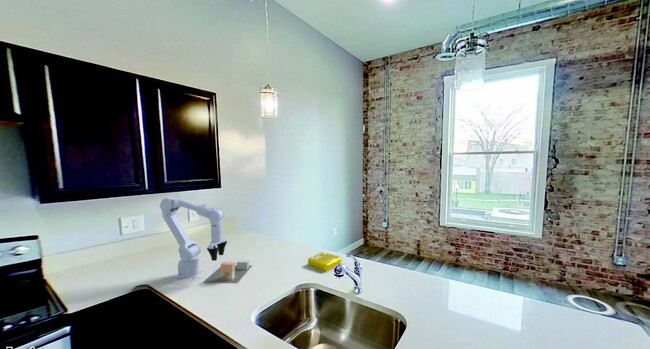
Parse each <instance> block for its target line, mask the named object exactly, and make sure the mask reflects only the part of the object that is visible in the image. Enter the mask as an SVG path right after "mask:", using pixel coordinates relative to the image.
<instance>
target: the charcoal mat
mask: <svg viewBox="0 0 650 349" xmlns="http://www.w3.org/2000/svg"><path fill="white" fill-rule="evenodd" d="M252 267H253V265H250V264H249V268H248V269H237V264H236V265H235V278H234V279H233V280H221V266H220V267H219V268H217V269H216V270H214V272H213V273H211V274H210V275H209V276H208V277H207V278H206V279H205V280H203V281H202V284H238V283H240V280H241V279H243V277H244V276H245V275H246V273H248V271H249V270H250V269H251V268H252Z"/></svg>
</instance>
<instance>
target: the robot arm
mask: <svg viewBox="0 0 650 349" xmlns="http://www.w3.org/2000/svg"><path fill="white" fill-rule="evenodd" d="M181 207H182V208H185V209H188V210H191V211H193V212H194V211H195V212H196V214H197V215H199V216H201V217H203V218H206V219H208V221H209V222H210V232H211V233H210V238H211V241H210V243H209V244H208V247H206V250H207V251H208V253H209V255H210V259H211V261H213V262H214V261H215V262H216V261H217V259H218V255H219V256H224V253H225V250H226V245H227V244H228V241H227V240H226V236H224V233H223V232H224V231H223V230H224V228H223V227H224V226H223V218H224V217H225V212H224V211H223V210H222V209H221V208H217V209H216V208H215V207H211V206H208V204H206V203H205V204H197V203H195V202H192V201H190V200H188V199H186V198H184V197H182V196H178V195H175V196H171V197H165V198H162V199H161V201H160V204H159V208H160V209H161V212H162V213H161V214H162V215H161V216H162V218H163V220H164V222H165V223H166V224H167V226H168V228H169V230H170V232H171V234H172V235H173V237H174V239H175V240H176V242H177V244H178V245H179V248H178V253H179V257H180V260H179V261H178V264H177V278H176V279H195V278H197V277H198V276H199V275H200V274H201V273H203V271H202V270H201V271H200V269H199V267H200V265H199V254H200V253H201V246H199V244H197V243H196V241H195V240H191V239H190V237H189V235H188V234H187V232H186V230H185V229H184V227H183V225H182V224H181V222H180V220H179V218H178V217H177V215H176V214H177V213H178V210H179V209H180V208H181Z"/></svg>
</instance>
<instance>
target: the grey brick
mask: <svg viewBox="0 0 650 349" xmlns="http://www.w3.org/2000/svg"><path fill="white" fill-rule="evenodd" d="M236 265H237V269H248V268H249V265H250V259H249V260H248V259H247V260H245V259H242V260H241V259H240V260H237V262H236Z"/></svg>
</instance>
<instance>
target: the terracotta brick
mask: <svg viewBox="0 0 650 349" xmlns="http://www.w3.org/2000/svg"><path fill="white" fill-rule="evenodd" d="M235 264H236V263H235V262H234V261H233V262H232V261H231V262H230V261H223V262H221V263H220V267H221V272H233V271H234V270H235Z"/></svg>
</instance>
